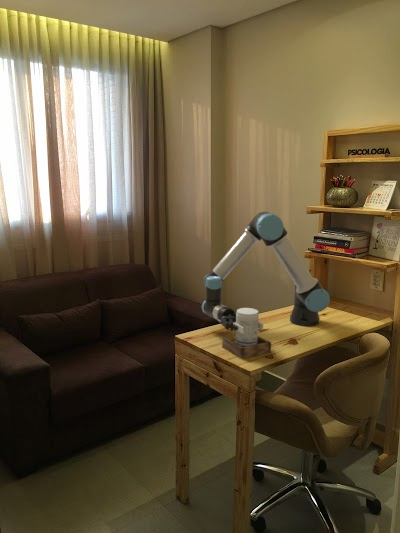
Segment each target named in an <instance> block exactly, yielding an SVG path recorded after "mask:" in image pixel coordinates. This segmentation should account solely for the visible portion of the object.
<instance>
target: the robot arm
mask: <svg viewBox="0 0 400 533" xmlns="http://www.w3.org/2000/svg"><path fill="white" fill-rule="evenodd" d="M261 240H262V242H263V243H264V245H265V247H268V248H271V249H272V251H273V253H274V255H275V256H276V257H277V258H278V260H279V262H280V264H281V265H282V266H283V268H284V269H285V271H286V273H287V274H288V276H289V277H290V278H291V280H292V282H293V283H294V295H293V296H294V298H293V299H294V301H293V308H292V310H291V314H290V316H289V321H290V323H292V324H294V325H298V326H305V327H312V326H317V325H319V324H320V323H321V322H320V320H321V318H320V316H319V313H320V312H323V311H325V310H326V309H327V308H328V306H329V304H330V300H331V299H330V298H331V297H330V294H329V293H328V291H327V290H326V289H324V288H323V286H322V284H321V282H320V281H319V279H318V278H316V277H312V275H311V273H310V272H309V270H308V269H307V267H306V265H305V264H304V262H303V260H302V259H301V258H300V256H299V255H298V253H297V251H296V250H295V248H294V247H293V245H292V244H291V242H290V241H289V239H288V231H287V230H286V228H285V226H284V222H283V221H282V219H281V218H280V217H279V216H278V215H277V214H274V213H272V212H268V211H261V212H259V213H257V214H256V215H255V216H254V217H253V218H252V219H251V220H250V221H249V223H248V224H247V225H246V227H245V228H244V232H243V233H242V235H241V236H240V237H239V238H238V239H237V241H236V242H235V243H234V244H233V245H232V247H231V248H230V249H229V250H228V251H227V252H226V254H225V255H224V256H223V257H222V258H221V259H220V261H219V262H218V263H217V264H216V265H215V266H214V268H213V269H212V270H211V271H210V272H209V273H208V274H206V275H205V276H204V277H203V286H204V288H205V300H204V301H203V302H202V304H201V310H202V312H203V313H204V314H205V315H207V317H211V318H213V319H215V320H216V321H218V323H219V324H220V325H222V326H223V328H224V329H226V330H229V329H230V332H231V331H234V330H235V332H236V331H238V332H240V333H242V334H244V327H242V326H240V325H238V324H236V312H235V310H234V309H232V308H231V307H228V306H226V305H224V304H222V291H223V290H222V286H223V284H222V283H223V282H224V280H225V279H226V278H227V277H228V276H229V274H230V273H231V272H232V271H233V270H234V268H235V267H236V266H237V265H238V264H239V263H240V261H241V260H242V259H243V258H244V257H245V256H246V255H247V253H248V252H249V251H250V250H251V249H252V248H253V247H254V245H256V243H259V242H261ZM258 330H261V331H263V330H264V322H261V321H259V320H258Z"/></svg>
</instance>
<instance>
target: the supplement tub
mask: <svg viewBox="0 0 400 533" xmlns="http://www.w3.org/2000/svg"><path fill="white" fill-rule="evenodd" d="M235 314H236V324H238V325H240V326H242V327H244V334H242V333H240V332H238V331H236V330H235V339H234V342H235V341H236V343H237V344H238V345H240V346H244V347H247V346H252V345H256V344H257V338H258V336H259V328H258V321H259V310H258V309H256V308H251V307H240V308H237V309H236V312H235Z"/></svg>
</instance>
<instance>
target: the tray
mask: <svg viewBox="0 0 400 533" xmlns="http://www.w3.org/2000/svg"><path fill="white" fill-rule="evenodd" d="M221 338H222V341H221V342H222V344H221V347H222V348H223V349H224V350H226V351H228V352H229V353H231V354H233V355H234V356H236V357H237V358H239V359H241V360H244V359H248V358H252V357H253V358H254V357H257V356H261V355H266V354H269V353H270V354H271V352H272V351H271V350H272V342H271V341H269V340H267V339H265V338H263V337H261V336H259V335H258V338H257V344H256V345H252V346H247V347H244V346H240V345H238V344H237V343H236V341H235V340H234V341H233V340H231V339H229V338H227V337H224V336H223V337H221Z"/></svg>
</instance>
